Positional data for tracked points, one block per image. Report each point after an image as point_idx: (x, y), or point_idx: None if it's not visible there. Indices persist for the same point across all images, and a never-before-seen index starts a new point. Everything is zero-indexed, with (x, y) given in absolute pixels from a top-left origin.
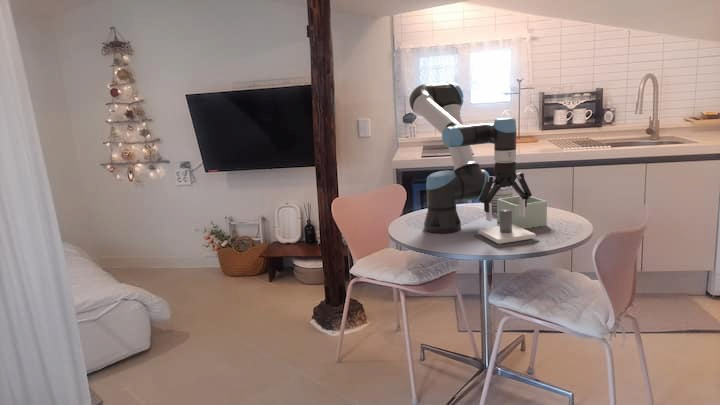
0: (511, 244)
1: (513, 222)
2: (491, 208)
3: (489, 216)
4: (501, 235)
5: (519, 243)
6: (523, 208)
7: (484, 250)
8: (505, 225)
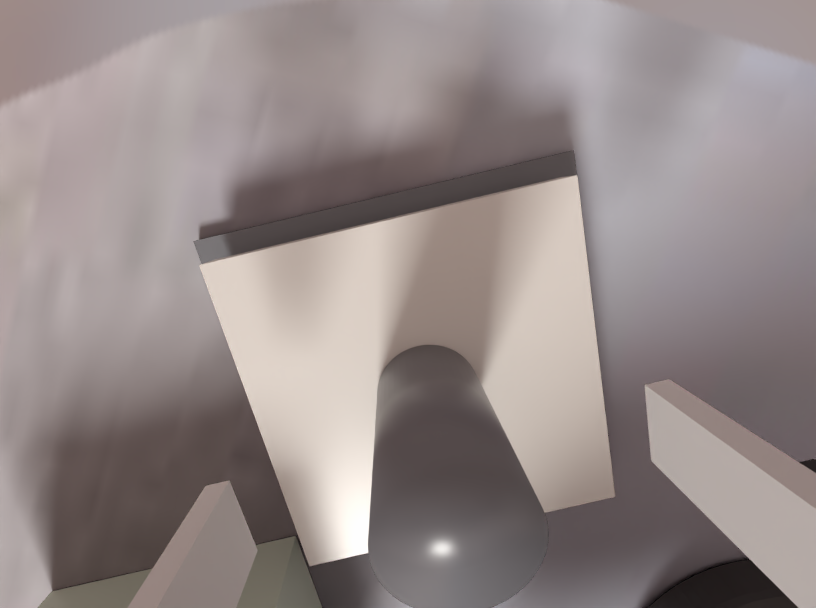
0: (442, 185)
1: (291, 604)
2: (805, 495)
3: (716, 418)
4: (503, 290)
5: (372, 199)
6: (171, 573)
7: (677, 122)
8: (459, 376)
